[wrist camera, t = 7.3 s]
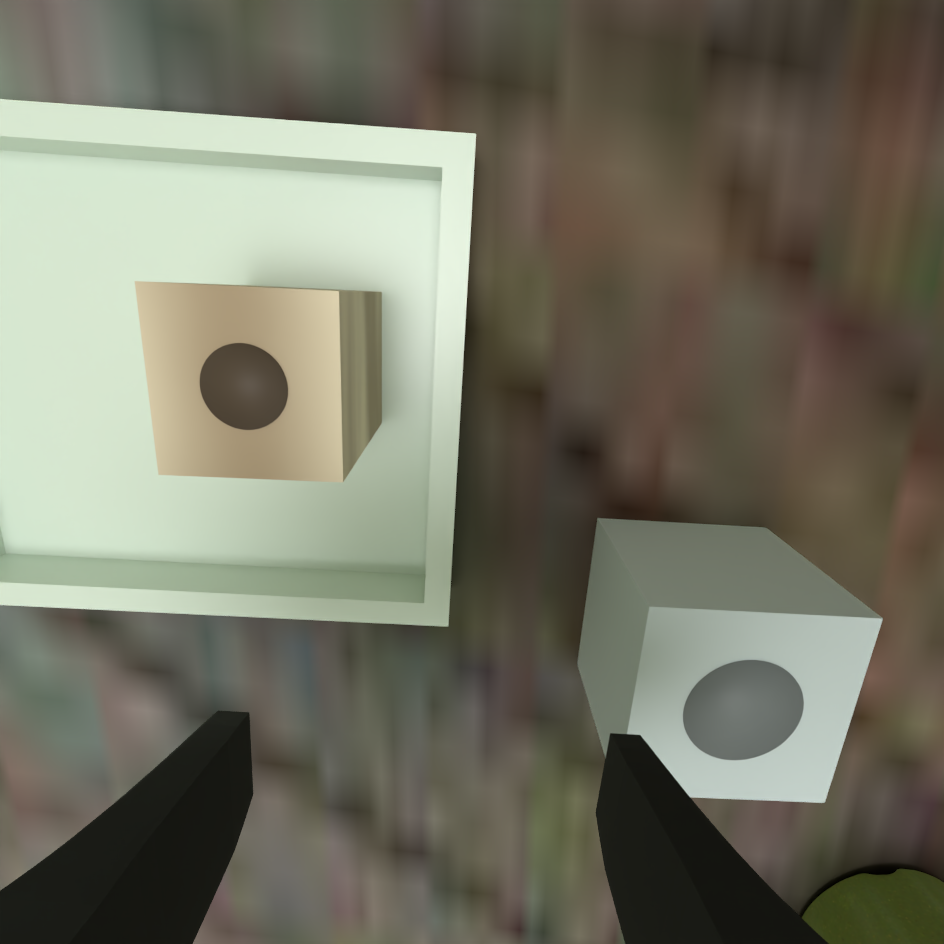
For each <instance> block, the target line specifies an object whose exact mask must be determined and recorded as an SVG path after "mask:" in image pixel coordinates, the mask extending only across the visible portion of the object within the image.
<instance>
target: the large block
mask: <svg viewBox="0 0 944 944" xmlns="http://www.w3.org/2000/svg"><path fill="white" fill-rule="evenodd" d="M882 620H883V618H882V617H880V616H879V615H878V614H876V613H875V612H874V611H873V610H871V609H870V608H869V607H867V606H866V605H865V604H864V603H862V602H861V601H860V600H858V599H857V598H856V597H855V596H853V595H852V594H851V593H849V592H848V591H847V590H846V589H844V588H843V587H842V586H841V585H839V584H838V583H837V582H835V581H834V580H833V579H832V578H830V577H829V576H828V575H826V574H825V573H824V572H823V571H821V570H820V569H819V568H817V567H816V566H815V565H814V564H812V563H811V562H810V561H808V560H807V559H806V558H805V557H803V556H802V555H801V554H799V553H798V552H797V551H796V550H794V549H793V548H792V547H790V546H789V545H788V544H787V543H785V542H784V541H783V540H781V539H780V538H779V537H778V536H776V535H775V534H774V533H772V532H771V531H770V530H769V529H767V528H766V527H749V526H731V525H713V524H695V523H677V522H659V521H641V520H623V519H605V518H597V525H596V532H595V540H594V547H593V554H592V561H591V568H590V576H589V583H588V590H587V597H586V604H585V612H584V619H583V626H582V633H581V640H580V648H579V655H578V662H577V665H578V668H579V672H580V675H581V678H582V682H583V685H584V688H585V692H586V695H587V698H588V702H589V705H590V708H591V712H592V715H593V718H594V722H595V725H596V728H597V731H598V735H599V738H600V741H601V745H602V748H603V751H604V755H605V758H606V753H607V748H608V742H609V737H610V733H617V734H634V735H641V736H642V738H643V739H644V740H645V741H646V743H647V744H648V745H649V746H650V748H651V749H652V750H653V751H654V753H655V754H656V755H657V756H658V758H659V759H660V760H661V762H662V763H663V764H664V765H665V767H666V768H667V769H668V770H669V772H670V773H671V774H672V775H673V777H674V778H675V779H676V780H677V782H678V783H679V784H680V785H681V787H682V788H683V789H684V790H685V792H686V793H687V794H688V795H689V797H697V798H721V799H745V800H770V801H794V802H818V803H825V800H826V797H827V794H828V791H829V787H830V784H831V781H832V778H833V775H834V772H835V768H836V765H837V762H838V759H839V756H840V753H841V749H842V746H843V743H844V740H845V737H846V734H847V731H848V727H849V724H850V721H851V718H852V715H853V712H854V708H855V705H856V702H857V699H858V696H859V693H860V689H861V686H862V683H863V680H864V677H865V674H866V670H867V667H868V664H869V661H870V658H871V655H872V652H873V648H874V645H875V642H876V639H877V636H878V633H879V629H880V626H881V623H882Z"/></svg>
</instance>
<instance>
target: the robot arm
mask: <svg viewBox="0 0 944 944" xmlns="http://www.w3.org/2000/svg"><path fill="white" fill-rule="evenodd" d="M252 796H253V781H252V760H251V739H250V719H249V713H248V712H231V711H217V712H216V713H215V714H214V715H212V716H211V717H210V718H209V719H208V720H207V721H206V722H205V723H204V724H202V725H201V726H200V727H199V728H198V729H197V730H196V731H195V732H194V733H193V734H192V735H191V736H189V737H188V738H187V739H186V740H185V741H184V742H183V743H182V744H181V745H180V746H179V747H178V748H176V749H175V750H174V751H173V752H172V753H171V754H170V755H169V756H168V757H167V758H165V759H164V760H163V761H162V762H161V763H160V764H159V765H158V766H157V767H155V768H154V769H153V770H152V771H151V772H150V773H149V774H148V775H146V776H145V777H144V778H143V779H142V780H141V781H140V782H138V783H137V784H136V785H135V786H134V787H133V788H132V789H130V790H129V791H128V792H127V793H126V794H125V795H124V796H122V797H121V798H120V799H119V800H118V801H117V802H115V803H114V804H113V805H112V806H111V807H109V808H108V809H107V810H106V811H104V812H103V813H102V814H101V815H99V816H98V817H97V818H96V819H95V820H93V821H92V822H91V823H90V824H88V825H87V826H86V827H85V828H83V829H82V830H81V831H80V832H79V833H77V834H76V835H75V836H74V837H72V838H71V839H70V840H69V841H67V842H66V843H65V844H63V845H62V846H61V847H60V848H58V849H57V850H56V851H54V852H53V853H52V854H50V855H49V856H48V857H46V858H45V859H44V860H42V861H41V862H40V863H38V864H37V865H36V866H34V867H33V868H32V869H30V870H29V871H27V872H26V873H25V874H23V875H22V876H20V877H19V878H18V879H16V880H15V881H13V882H12V883H11V884H9V885H8V886H6V887H5V888H4V889H2V890H1V891H0V944H193V942H194V939H195V937H196V935H197V933H198V931H199V928H200V926H201V924H202V922H203V920H204V917H205V915H206V913H207V911H208V909H209V906H210V904H211V902H212V900H213V898H214V895H215V893H216V891H217V889H218V887H219V884H220V882H221V880H222V878H223V875H224V873H225V871H226V869H227V866H228V864H229V862H230V860H231V857H232V855H233V853H234V851H235V848H236V845H237V842H238V839H239V836H240V833H241V830H242V827H243V824H244V821H245V818H246V815H247V812H248V809H249V806H250V802H251V799H252ZM596 817H597V824H598V830H599V837H600V843H601V849H602V854H603V860H604V866H605V871H606V874H607V878H608V882H609V886H610V890H611V893H612V897H613V901H614V904H615V908H616V912H617V915H618V919H619V923H620V926H621V930H622V933H623V937H624V941H625V944H829V943H828V942H827V941H825V940H824V939H823V938H822V937H821V936H820V935H819V934H818V933H817V932H816V931H815V930H814V929H813V928H811V927H810V926H809V925H808V924H807V923H806V922H805V921H804V920H803V919H802V918H801V917H800V916H799V915H798V914H797V913H796V912H795V911H794V910H793V909H792V908H791V907H790V906H789V905H787V904H786V903H785V902H784V901H783V900H782V899H781V898H780V897H779V896H778V895H777V894H776V893H775V892H774V891H773V890H772V889H771V888H770V887H769V886H768V885H767V884H766V883H765V882H764V881H763V880H762V878H761V877H760V876H759V875H758V874H757V873H756V872H755V871H754V870H753V869H752V868H751V867H750V866H749V865H748V863H747V862H746V861H745V860H744V859H743V858H742V857H741V856H740V855H739V854H738V853H737V852H736V850H735V849H734V848H733V847H732V846H731V845H730V844H729V843H728V841H727V840H726V839H725V838H724V837H723V836H722V835H721V833H720V832H719V831H718V830H717V829H716V828H715V826H714V825H713V824H712V823H711V822H710V821H709V819H708V818H707V817H706V816H705V815H704V813H703V812H702V811H701V810H700V809H699V808H698V806H697V805H696V804H695V803H694V802H693V800H692V799H691V798H690V797H689V795H688V794H687V793H686V792H685V790H684V789H683V788H682V787H681V785H680V784H679V783H678V782H677V780H676V779H675V778H674V777H673V775H672V774H671V773H670V772H669V770H668V769H667V768H666V767H665V765H664V764H663V763H662V762H661V760H660V759H659V758H658V756H657V755H656V754H655V753H654V751H653V750H652V749H651V748H650V746H649V745H648V744H647V743H646V741H645V740H644V739H643V738H642V736H641V735H634V734H617V733H610V737H609V742H608V748H607V753H606V759H605V764H604V770H603V775H602V781H601V786H600V791H599V797H598V802H597V808H596Z"/></svg>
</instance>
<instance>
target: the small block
mask: <svg viewBox="0 0 944 944" xmlns="http://www.w3.org/2000/svg"><path fill="white" fill-rule="evenodd" d="M135 289H136V297H137V305H138V313H139V321H140V329H141V338H142V346H143V354H144V362H145V370H146V378H147V386H148V394H149V402H150V411H151V419H152V427H153V435H154V443H155V451H156V459H157V467H158V475H174V476H198V477H222V478H247V479H271V480H296V481H320V482H344V480H345V479H346V477H347V476H348V474H349V473H350V471H351V470H352V468H353V467H354V465H355V463H356V462H357V460H358V459H359V457H360V456H361V454H362V453H363V451H364V450H365V448H366V447H367V445H368V443H369V442H370V440H371V439H372V437H373V436H374V434H375V433H376V431H377V430H378V428H379V427H380V425H381V423H382V292H375V291H355V290H334V289H314V288H293V287H273V286H252V285H227V284H199V283H172V282H144V281H135Z"/></svg>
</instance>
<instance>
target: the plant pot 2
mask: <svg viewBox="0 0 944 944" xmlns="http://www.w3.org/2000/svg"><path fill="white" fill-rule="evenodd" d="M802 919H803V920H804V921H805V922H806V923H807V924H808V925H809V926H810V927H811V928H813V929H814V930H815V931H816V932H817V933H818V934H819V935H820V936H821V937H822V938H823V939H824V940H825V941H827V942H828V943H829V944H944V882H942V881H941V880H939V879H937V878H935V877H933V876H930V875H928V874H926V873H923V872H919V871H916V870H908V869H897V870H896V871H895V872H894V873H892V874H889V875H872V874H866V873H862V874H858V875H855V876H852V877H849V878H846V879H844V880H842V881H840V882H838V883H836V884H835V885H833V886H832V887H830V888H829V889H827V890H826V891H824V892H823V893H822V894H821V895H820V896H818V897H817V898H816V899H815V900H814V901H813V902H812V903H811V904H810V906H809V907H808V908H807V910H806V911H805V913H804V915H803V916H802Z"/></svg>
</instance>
